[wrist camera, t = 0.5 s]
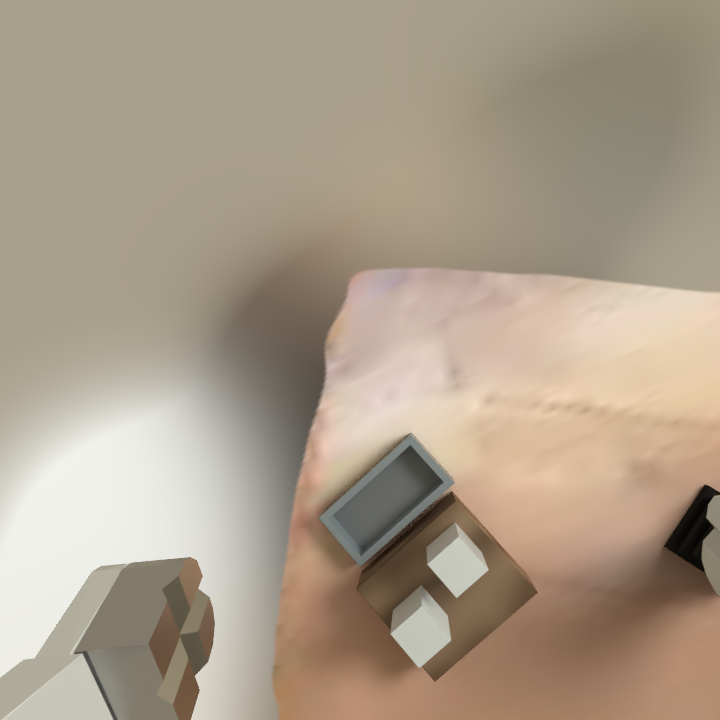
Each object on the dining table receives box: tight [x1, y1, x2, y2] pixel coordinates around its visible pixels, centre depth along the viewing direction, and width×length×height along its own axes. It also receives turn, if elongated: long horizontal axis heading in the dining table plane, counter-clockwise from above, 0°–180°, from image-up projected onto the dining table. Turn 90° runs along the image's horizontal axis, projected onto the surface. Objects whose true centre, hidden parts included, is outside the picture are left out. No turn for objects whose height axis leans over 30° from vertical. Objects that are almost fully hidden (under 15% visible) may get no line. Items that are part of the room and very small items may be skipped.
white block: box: [426, 522, 489, 598], centre depth 48 cm, size 4×4×5 cm
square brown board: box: [357, 492, 538, 681], centre depth 53 cm, size 12×14×5 cm
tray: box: [319, 433, 454, 567], centre depth 56 cm, size 7×14×2 cm, turn 132°
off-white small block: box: [390, 585, 451, 668], centre depth 48 cm, size 4×4×5 cm
